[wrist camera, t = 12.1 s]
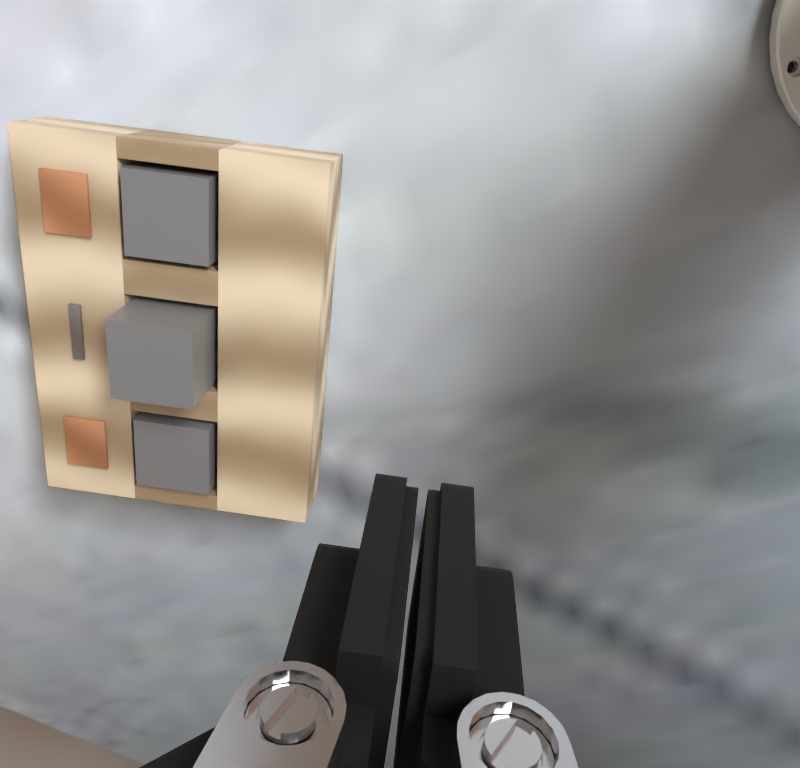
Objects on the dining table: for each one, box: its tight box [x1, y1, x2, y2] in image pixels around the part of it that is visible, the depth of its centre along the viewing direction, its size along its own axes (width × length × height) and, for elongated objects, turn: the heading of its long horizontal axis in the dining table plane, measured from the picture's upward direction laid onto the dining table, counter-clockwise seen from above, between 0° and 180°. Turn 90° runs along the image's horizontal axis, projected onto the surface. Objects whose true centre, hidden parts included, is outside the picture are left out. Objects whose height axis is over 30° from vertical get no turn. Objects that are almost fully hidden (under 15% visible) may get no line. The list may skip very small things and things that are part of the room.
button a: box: [120, 161, 219, 267], centre depth 37 cm, size 4×4×4 cm
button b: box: [105, 296, 218, 410], centre depth 38 cm, size 4×4×4 cm
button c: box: [133, 412, 218, 495], centre depth 43 cm, size 4×4×4 cm
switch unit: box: [6, 117, 343, 523], centre depth 40 cm, size 21×16×4 cm
